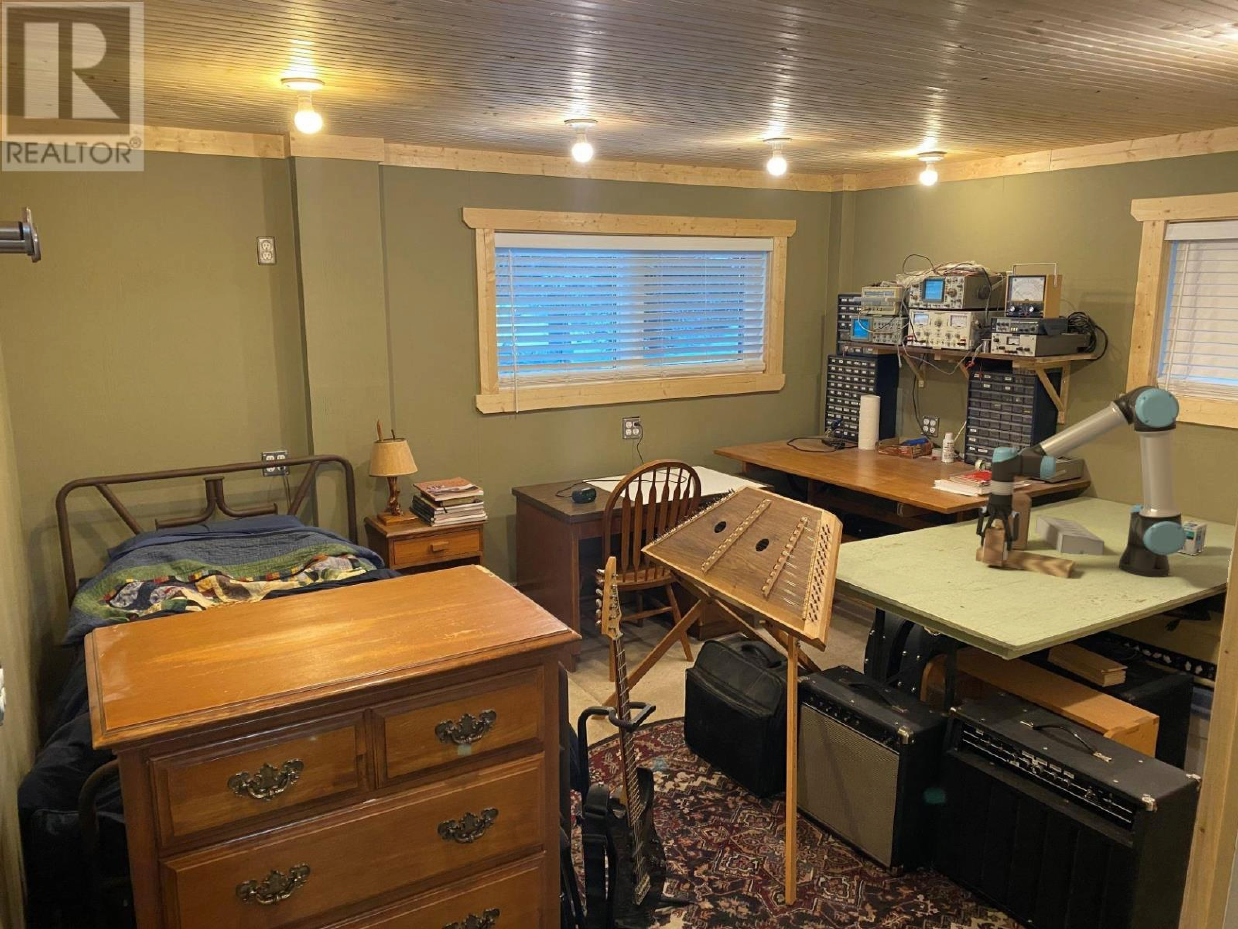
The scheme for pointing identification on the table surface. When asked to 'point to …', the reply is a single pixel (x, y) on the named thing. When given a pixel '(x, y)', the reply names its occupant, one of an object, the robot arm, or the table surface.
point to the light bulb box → (1194, 537)
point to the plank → (1035, 563)
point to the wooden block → (1024, 507)
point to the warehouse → (1068, 536)
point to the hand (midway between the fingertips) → (994, 557)
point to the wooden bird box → (994, 546)
